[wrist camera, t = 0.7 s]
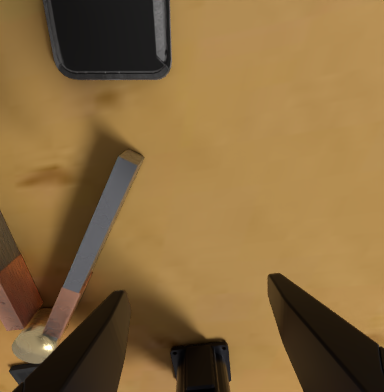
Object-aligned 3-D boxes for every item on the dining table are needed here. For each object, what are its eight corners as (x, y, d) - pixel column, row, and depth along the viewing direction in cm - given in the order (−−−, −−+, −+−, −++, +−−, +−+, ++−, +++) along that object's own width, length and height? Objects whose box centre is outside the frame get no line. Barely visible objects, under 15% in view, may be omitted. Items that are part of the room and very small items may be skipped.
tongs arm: (62, 337, 25) (46, 367, 22) (29, 326, 25) (7, 356, 22) (147, 158, 18) (139, 168, 15) (103, 136, 18) (87, 142, 15)
